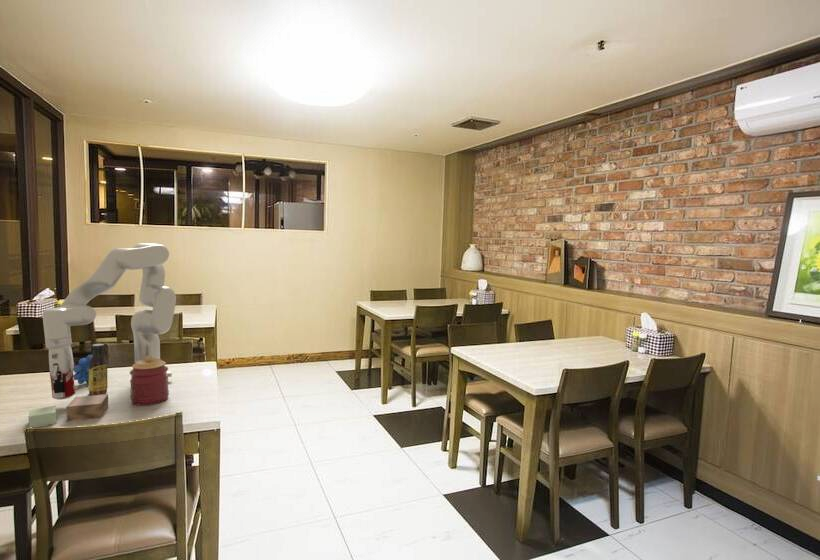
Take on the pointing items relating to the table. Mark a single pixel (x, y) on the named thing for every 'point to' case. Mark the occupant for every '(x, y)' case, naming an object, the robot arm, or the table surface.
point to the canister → (149, 381)
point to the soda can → (68, 386)
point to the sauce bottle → (98, 371)
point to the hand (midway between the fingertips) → (63, 388)
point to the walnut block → (87, 407)
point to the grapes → (82, 370)
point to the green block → (42, 416)
